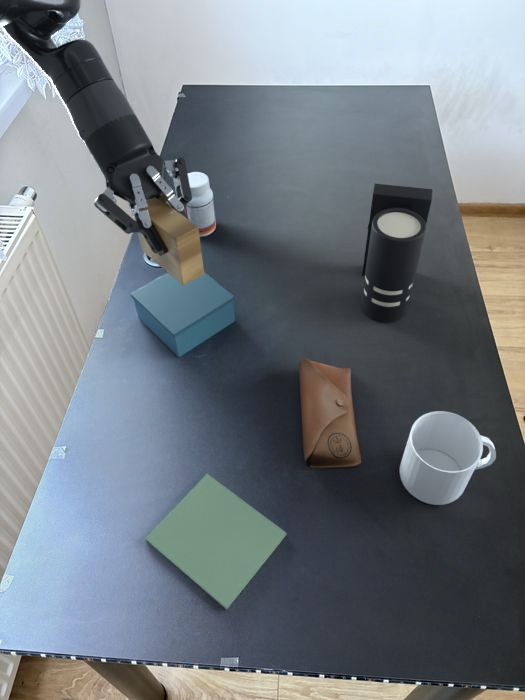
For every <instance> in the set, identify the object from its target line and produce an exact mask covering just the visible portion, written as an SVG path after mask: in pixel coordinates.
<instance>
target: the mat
mask: <svg viewBox="0 0 525 700" xmlns="http://www.w3.org/2000/svg"><path fill="white" fill-rule="evenodd" d="M287 534H288V533H287V532H286V531H285V530H283V529H282V528H281V527H280V526H278V525H277V524H275V523H274V522H273V521H271V519H268V517H266V516H265V515H263V514H262V513H261V512H259V511H258V510H257V509H255V508H254V507H253V506H251V505H250V504H249V503H247V502H246V501H244V500H243V499H242V498H241V497H239V496H238V495H237V494H235V493H234V492H233V491H231V490H230V489H229V488H227V487H226V486H225V485H223V484H222V483H220V482H219V481H217V480H216V479H215V478H214V477H213V476H211V475H210V474H209V473H206V474H205V475H204V476H203V477H202V478H201V479H200V480H199V482H197V484H196V485H195V486H194V487H193V488H192V489H191V490H190V491H189V492H188V493H187V494H186V495H185V496H184V497H183V498H182V499H181V500H180V501H179V502H178V504H177V505H176V506H175V507H174V508H172V510H171V511H170V512H169V513H168V514H167V515H166V516H165V517H164V518H163V519H162V520H161V521H160V523H158V525H157V526H156V527H154V529H153V530H152V531H151V532H150V533H149V534H148V535H147V536H146V537H145V541H146V542H147V543H148V544H149V545H150V546H152V547H153V548H154V549H155V550H156V551H157V552H159V553H160V554H161V555H162V556H163V557H164V558H165V559H167V560H168V562H170V563H171V564H172V565H173V566H175V567H176V568H177V569H178V570H179V571H181V572H182V573H183V575H185V576H186V577H187V578H189V579H190V580H191V581H192V582H193V583H195V584H196V585H197V586H198V587H199V588H200V589H201V590H203V591H204V592H205V593H206V594H207V595H208V596H209V597H211V598H212V599H213V600H214V601H215V602H217V603H218V604H219V605H220V606H221V607H223V608H224V609H225V610H228V609H229V608H230V606H231V605H232V604H233V602H234V601H236V599H237V598H238V596H239V595H240V594H241V593H242V591H243V590H244V589H245V588H246V586H247V585H248V584H249V582H251V580H252V579H253V578H254V576H255V575H256V574H257V573H258V571H260V569H261V568H262V566H264V564H265V563H266V561H267V560H268V559H269V558H270V556H271V555H272V554H273V553H274V552H275V550H276V549H277V547H278V546H279V545H280V544H281V542H282V541H283V540H284V539H285V537H286V536H287Z"/></svg>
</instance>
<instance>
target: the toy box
mask: <svg viewBox="0 0 525 700" xmlns="http://www.w3.org/2000/svg"><path fill="white" fill-rule="evenodd" d="M235 297H236V296H235V295H233V294H232V293H231V292H230V291H229V290H227V289H226V288H225V287H224V286H222V284H221V283H219V282H218V281H216V280H215V279H214V278H213V277H211V275H209V274H208V273H206V272H205V271H204V274H203V275H201V276H199V277H198V278H196V279H194V280H193V281H191V282H189V283H187V284H186V285H184V286H183V285H182V284H181V283H180V282H178V281H177V280H176V279H175V278H174V277H173V276H171V275H170V274H169V273H168V272H166V273H164V274H162V275H161V276H158V277H157V278H155V279H153V280H152V281H150V282H148V283H147V284H145V285H143V286H141V287H139V288H138V289H136V290H134V291H133V292H130V298H132V300H133V303H134V307H135V310H136V313H137V317H138V319H139V320H140V321H141V322H142V323H143V324H144V325H145V326H146V327H147V328H148V329H149V330H150V331H151V332H152V333H153V334H154V335H155V336H156V337H157V338H158V339H159V340H160V341H161V342H162V343H163V344H164V345H166V346H167V347H168V348H169V350H171V352H173V353H174V354H175V355H176V356H177V358H181V357H182V356H184V355H185V354H187V353H188V352H190V351H192V350H193V349H195V348H196V347H198V346H200V345H201V344H203V343H204V342H205V341H206V340H209V338H212V337H213V336H215V335H216V334H218V333H219V332H221V331H222V330H224V329H225V328H227V327H228V326H231V325H232V324H233V323H236V316H235V314H236V313H235V305H234V301H235V300H236V298H235Z"/></svg>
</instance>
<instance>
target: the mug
mask: <svg viewBox="0 0 525 700" xmlns="http://www.w3.org/2000/svg"><path fill="white" fill-rule="evenodd" d="M406 441H407V442H406V445H405V448H404V451H403V453H402V457H401V461H400V464H399V477H400V481H401V483H402V485H403V486H404V488H405V490H406V491H407V492H408V493H409V494H410V495H412V496H413V497H414V498H415V499H416V500H419V501H420V502H423V503H425V504H429V505H434V506H443V505H448V504H451V503H453V502H454V501H456V500H458V499H459V498H460V497H461V496H462V495H463V494H464V492H465V489H466V487H467V485H468V483H469V481H470V480H471V477H472V476H473V473H474V472H475V470H480V469H484V468H486V467H489V466H491V465H493V463H494V462H495V460H497V451H496V448H495V444H494V443H493V441H492V440H491V439H490V438H489V437H488V436H484V435H481V434H480V432H479V430H478V429H477V428H476V426H475V425H474V424H473V423H471V422H470V421H469V420H468V419H467V418H465V417H463V416H461V415H459V414H457V413H454V412H451V411H445V410H435V411H430V412H427V413H424V414H422V415H421V416H419V417H418V418H417V419H416V420H415V421H414V422H413V424H412V426H411V429H410V432H409V435H408V438H407V440H406ZM484 446H486V447H487V449H488V450H489V452H488V454H487V456H486V457H484V458H482V456H483V452H484Z"/></svg>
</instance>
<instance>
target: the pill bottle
mask: <svg viewBox="0 0 525 700" xmlns="http://www.w3.org/2000/svg"><path fill="white" fill-rule="evenodd" d="M187 174H188V179H189V184H190V189H191V194H192V200H191V201H190V202H189V203H188V204H187V205H186V206H185V209H184V211H185V213H186V215H187V217H188V219H189V220H190V221H191V222H192V223H193V224H195V225H196V226H197V227H198V228H199V236H200V238H201V237H202V238H203V237H207V236H209V235H211V234H212V233H213V232H214V231H215V230H216V227H217V221H216V212H215V203H214V193H213V190H212V188H211V187H210V178H209V177H208V175H207V174H205V173H203V172H201V171H192V172H187Z"/></svg>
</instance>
